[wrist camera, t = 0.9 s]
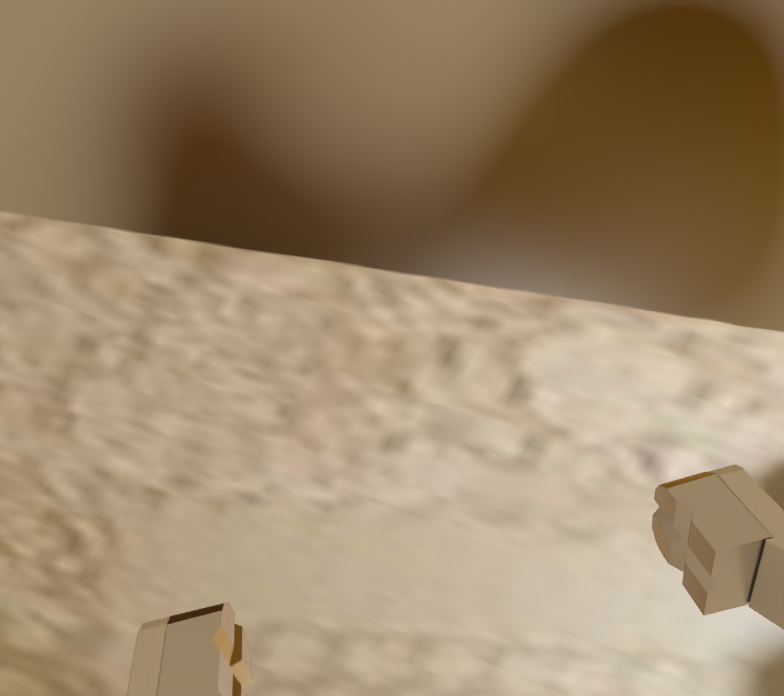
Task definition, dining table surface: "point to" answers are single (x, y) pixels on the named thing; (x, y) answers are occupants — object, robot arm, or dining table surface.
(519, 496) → the dining table surface
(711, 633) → the dining table surface
